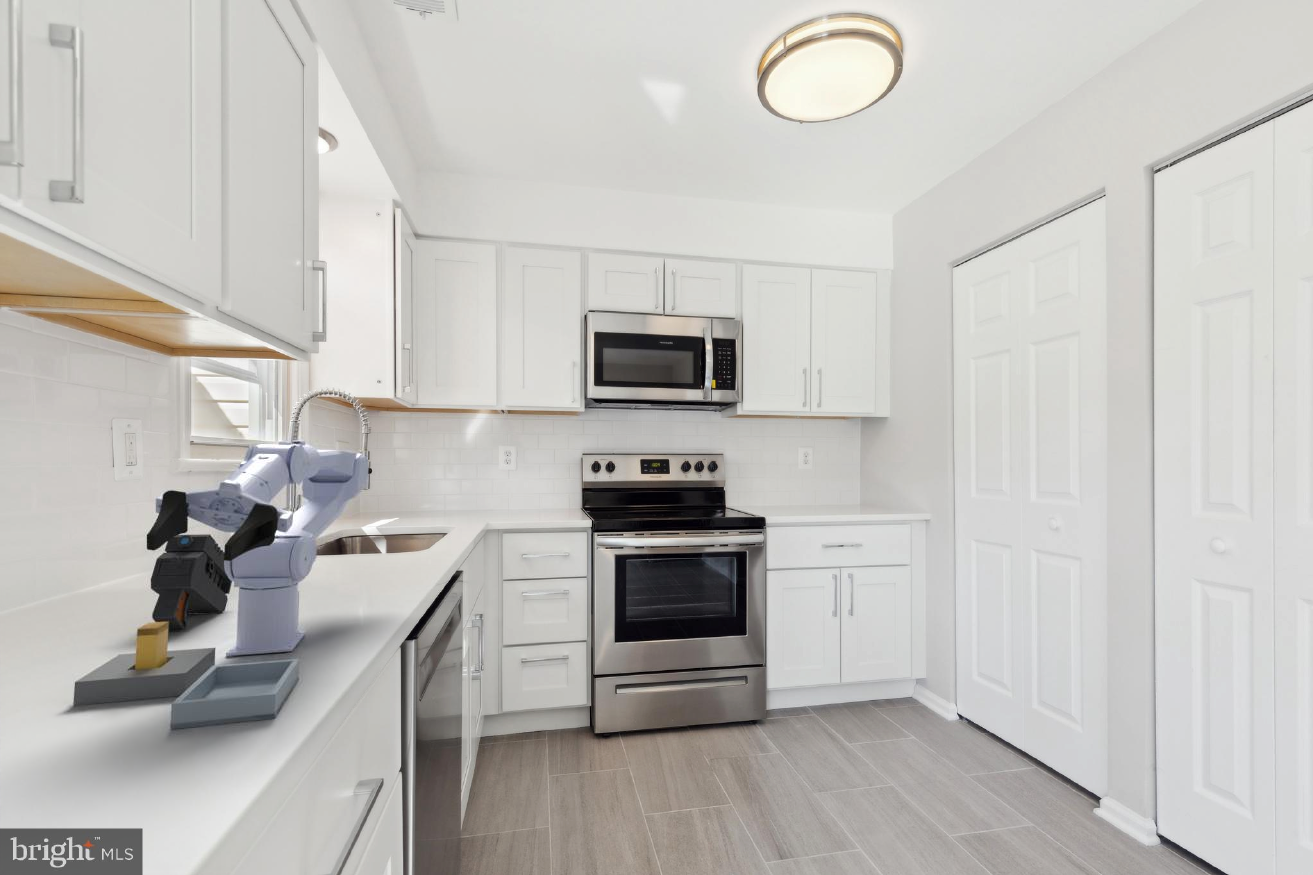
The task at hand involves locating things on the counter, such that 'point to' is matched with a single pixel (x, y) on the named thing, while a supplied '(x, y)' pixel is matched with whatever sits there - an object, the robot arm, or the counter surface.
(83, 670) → the counter surface
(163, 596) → the tool
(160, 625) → the block
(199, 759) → the counter surface
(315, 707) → the counter surface
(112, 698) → the socket block
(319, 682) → the counter surface
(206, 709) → the parts tray
